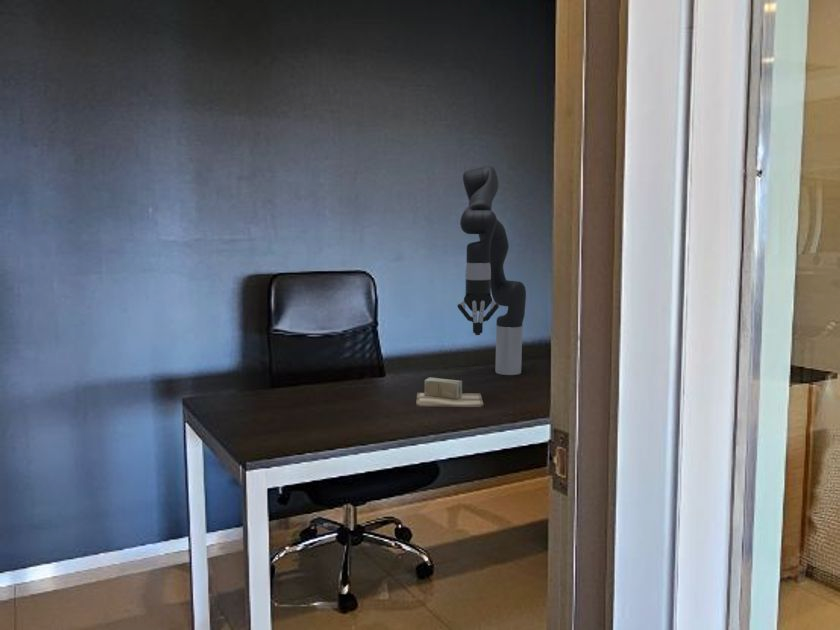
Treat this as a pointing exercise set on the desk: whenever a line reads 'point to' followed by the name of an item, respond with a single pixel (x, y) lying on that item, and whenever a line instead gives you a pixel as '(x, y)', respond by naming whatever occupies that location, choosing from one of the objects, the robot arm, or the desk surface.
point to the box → (443, 388)
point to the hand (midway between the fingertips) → (477, 334)
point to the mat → (450, 400)
